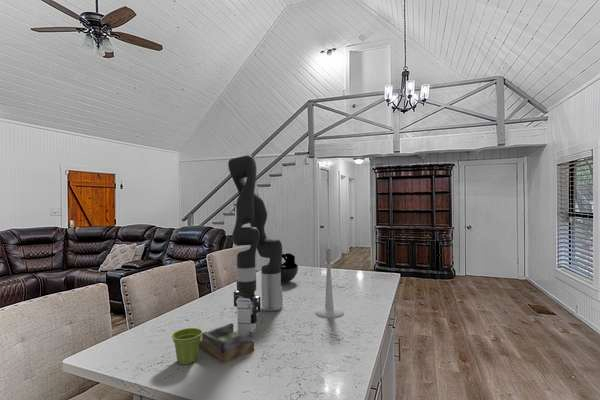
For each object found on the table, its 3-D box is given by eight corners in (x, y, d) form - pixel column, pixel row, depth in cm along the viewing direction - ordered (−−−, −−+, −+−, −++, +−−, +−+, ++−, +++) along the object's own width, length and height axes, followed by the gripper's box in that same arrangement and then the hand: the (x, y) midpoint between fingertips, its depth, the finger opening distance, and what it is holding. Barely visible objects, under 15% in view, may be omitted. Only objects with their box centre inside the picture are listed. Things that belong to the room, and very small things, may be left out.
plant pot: (176, 354, 107) (176, 328, 107) (205, 352, 107) (205, 327, 107) (167, 368, 97) (167, 340, 97) (198, 366, 98) (198, 338, 98)
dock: (221, 334, 122) (221, 318, 122) (254, 350, 108) (253, 332, 109) (192, 344, 113) (192, 328, 113) (224, 363, 100) (223, 344, 100)
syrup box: (251, 337, 119) (251, 298, 119) (237, 336, 120) (236, 297, 120) (256, 331, 125) (256, 294, 125) (242, 330, 126) (242, 293, 126)
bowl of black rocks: (297, 286, 190) (297, 255, 190) (264, 287, 190) (264, 255, 190) (298, 278, 210) (298, 250, 210) (268, 279, 210) (268, 250, 210)
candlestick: (347, 310, 147) (346, 246, 148) (338, 319, 136) (337, 250, 136) (321, 307, 153) (320, 244, 153) (311, 315, 141) (310, 248, 141)
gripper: (265, 279, 121) (266, 322, 120) (243, 274, 130) (243, 313, 130) (250, 283, 115) (250, 328, 115) (227, 277, 125) (228, 319, 125)
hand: (246, 320), depth 123 cm, fingers closed on syrup box, 7 cm apart
